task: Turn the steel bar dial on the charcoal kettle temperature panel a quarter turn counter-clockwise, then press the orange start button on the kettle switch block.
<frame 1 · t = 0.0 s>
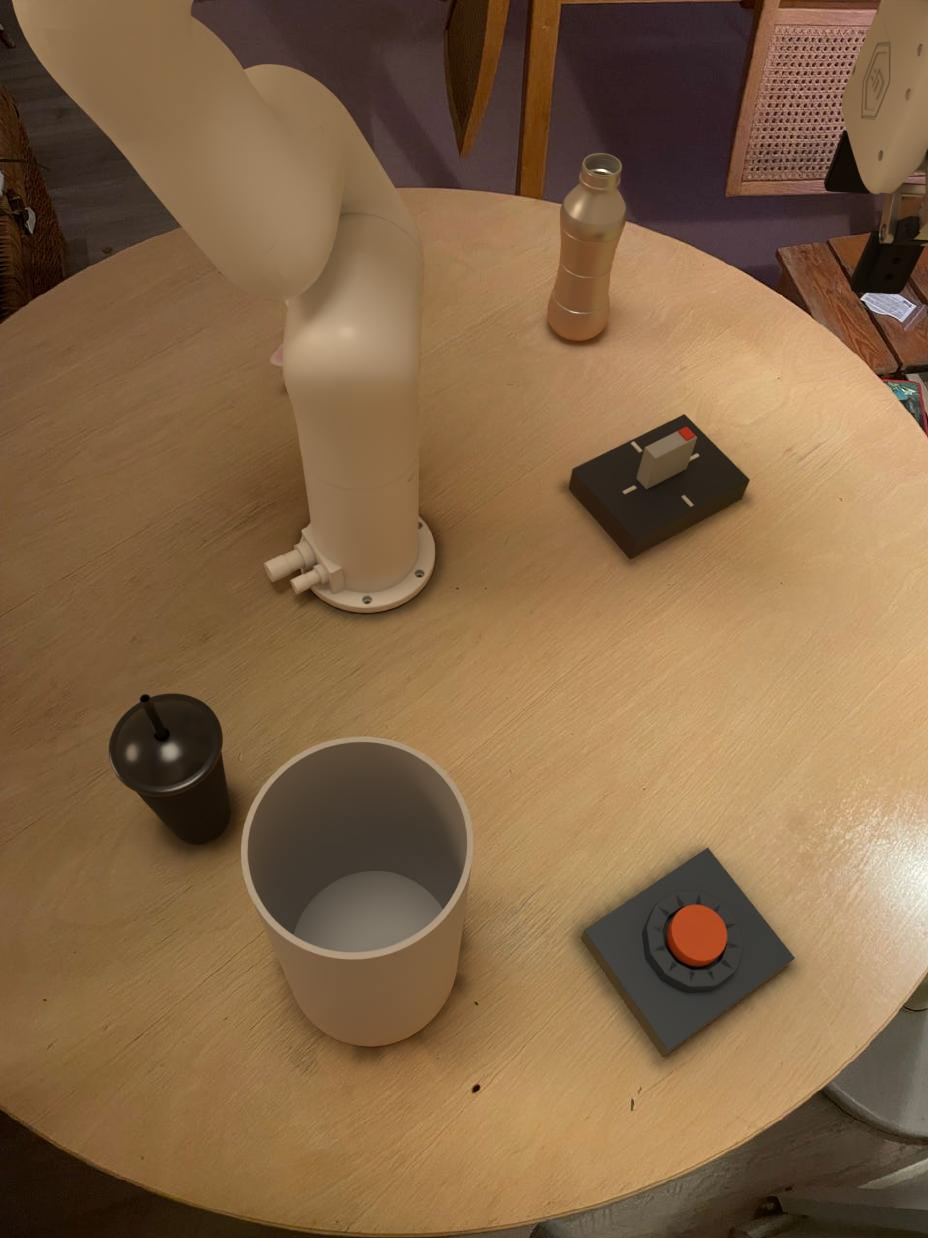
hand: (860, 238, 66), 37 cm above the table, tool pointing down, fingers open, 9 cm apart
start button: (696, 935, 75), point 4 cm above the table, slide at 0.1 cm
cylinder vase: (373, 960, 77), on the table
lily: (332, 370, 110), on the table
temp panel: (655, 493, 102), on the table
plastic bottle: (574, 329, 114), on the table
temp dial: (666, 457, 97), point 5 cm above the table, hinge at 0.0°
switch block: (682, 951, 78), on the table
drinking cup: (200, 817, 83), on the table
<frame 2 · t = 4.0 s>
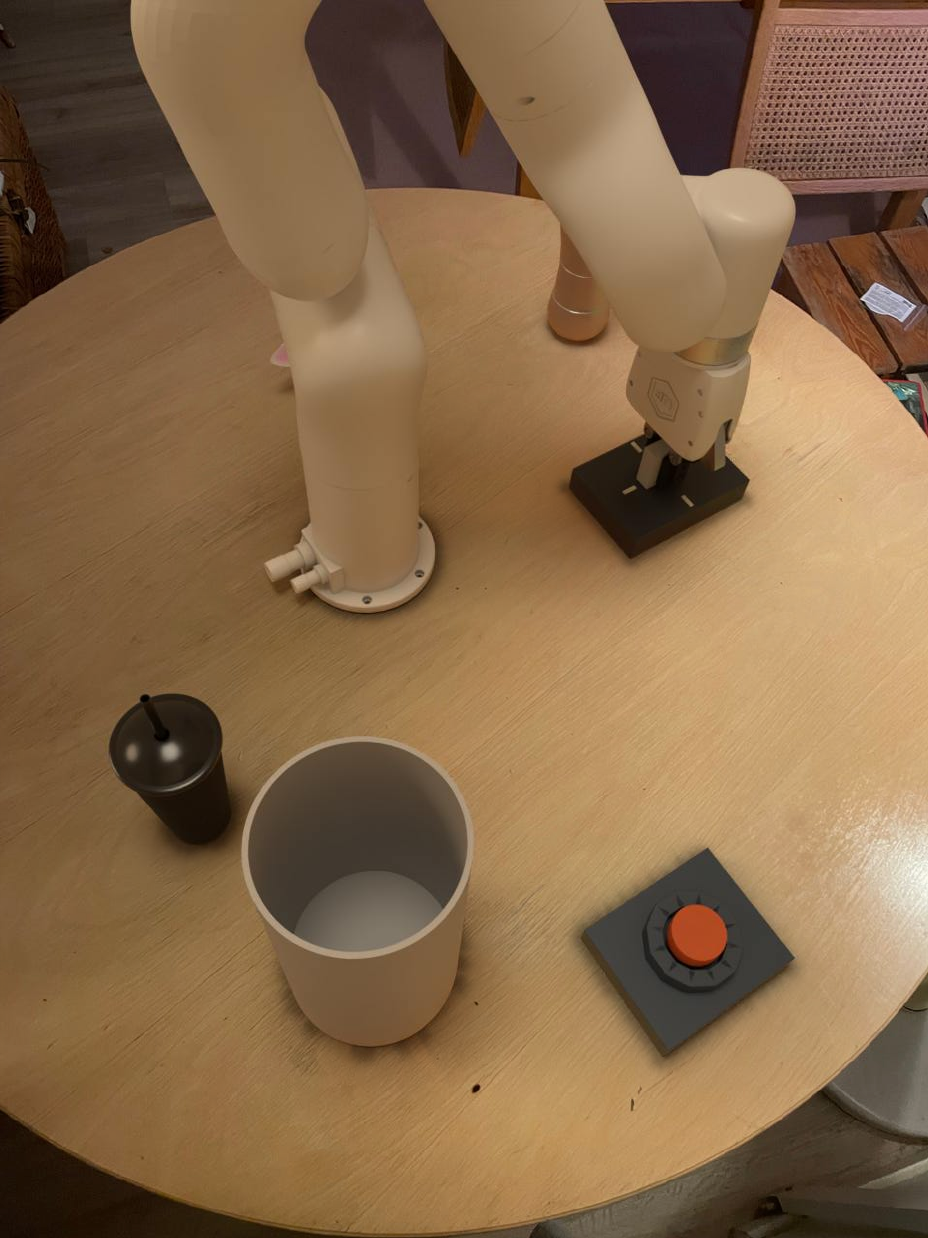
hand: (662, 471, 99), 3 cm above the table, tool pointing down, fingers closed on temp dial
temp dial: (666, 457, 97), point 5 cm above the table, hinge at 0.0°, touching gripper
everything else where it was.
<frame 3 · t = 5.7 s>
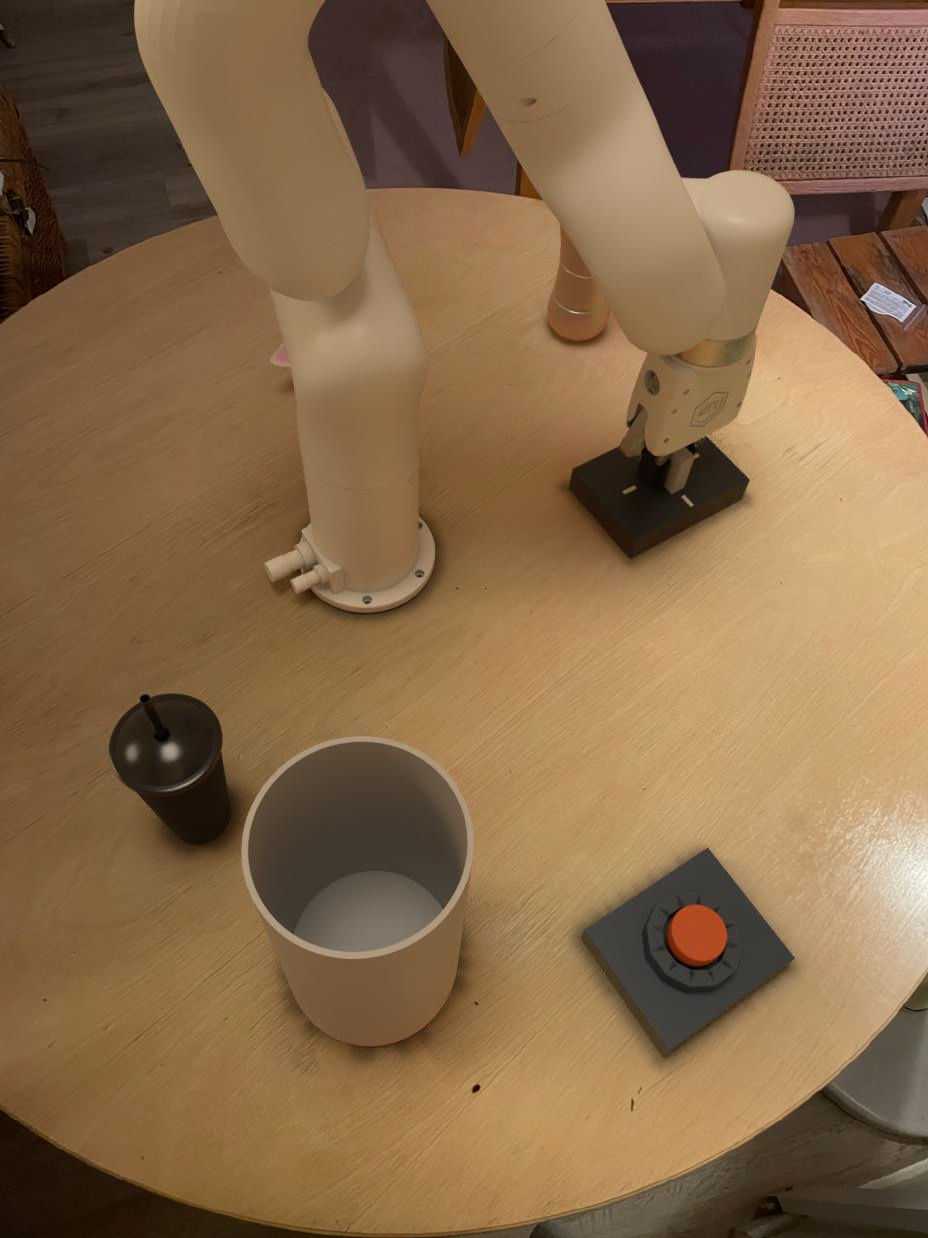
hand: (662, 472, 99), 3 cm above the table, tool pointing down, fingers closed
temp dial: (666, 457, 97), point 5 cm above the table, hinge at 89.7°
everything else where it was.
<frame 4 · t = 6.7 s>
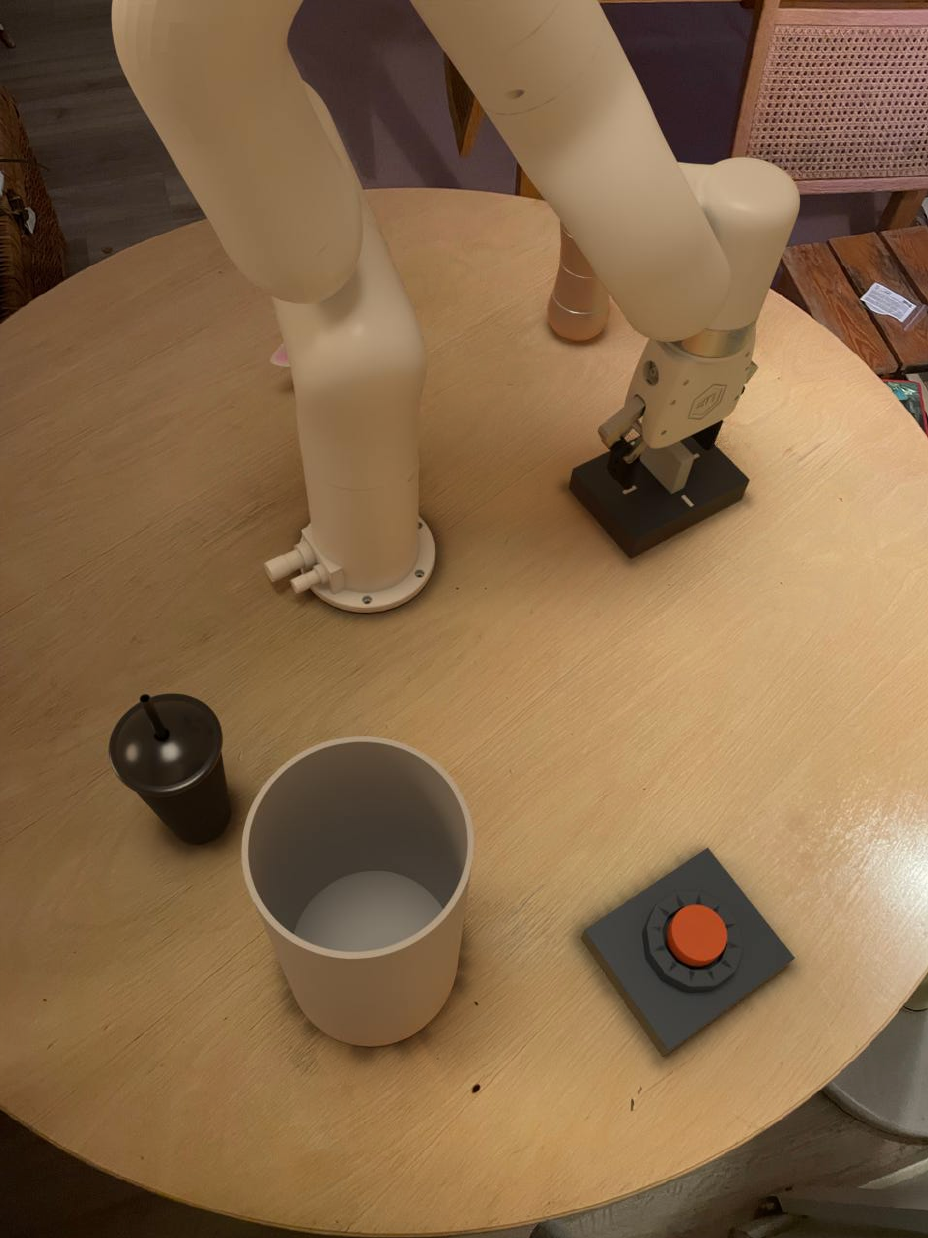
hand: (659, 459, 97), 5 cm above the table, tool pointing down, fingers open, 9 cm apart
nothing on the table moved.
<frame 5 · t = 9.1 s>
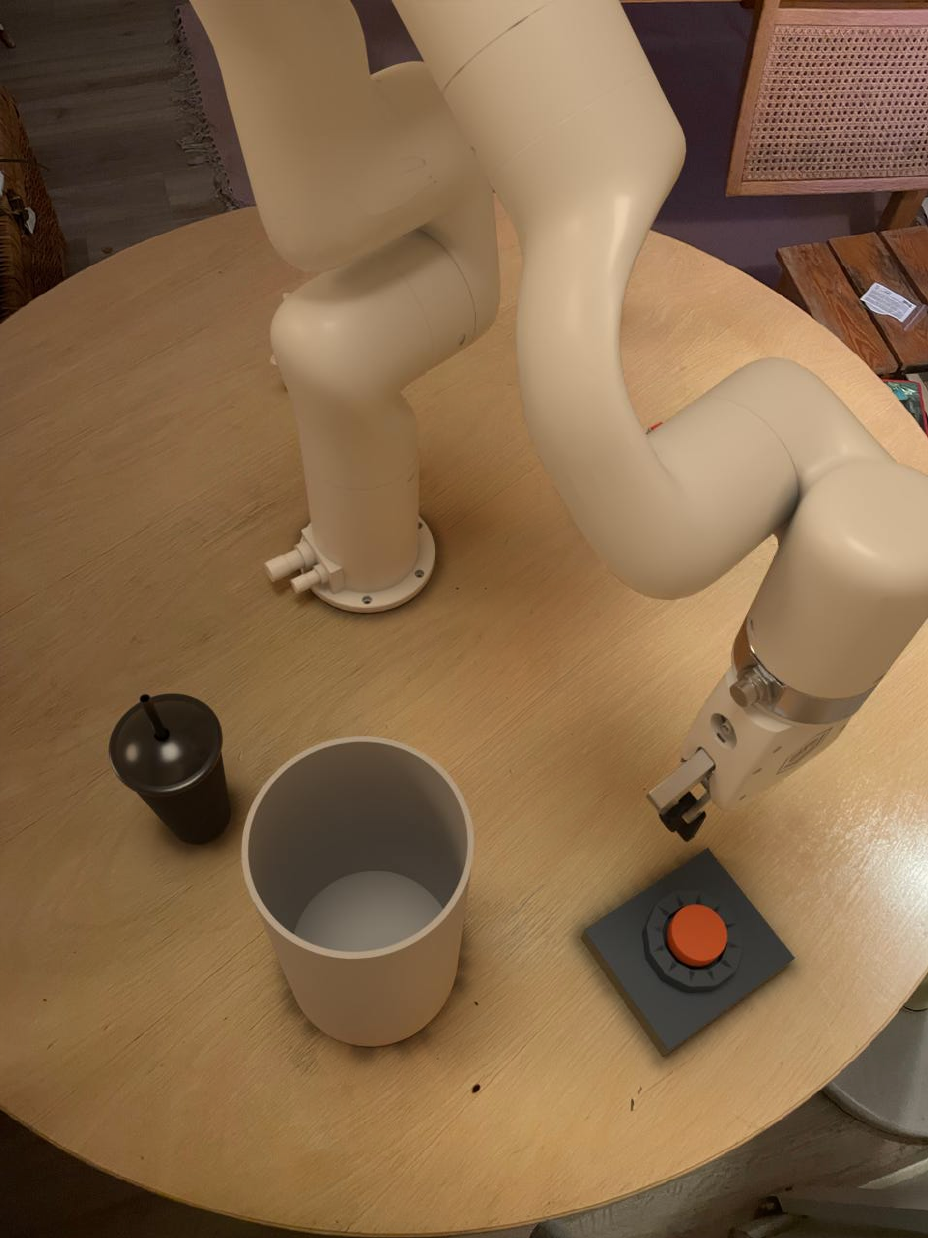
hand: (728, 784, 70), 15 cm above the table, tool pointing down, fingers open, 9 cm apart
nothing on the table moved.
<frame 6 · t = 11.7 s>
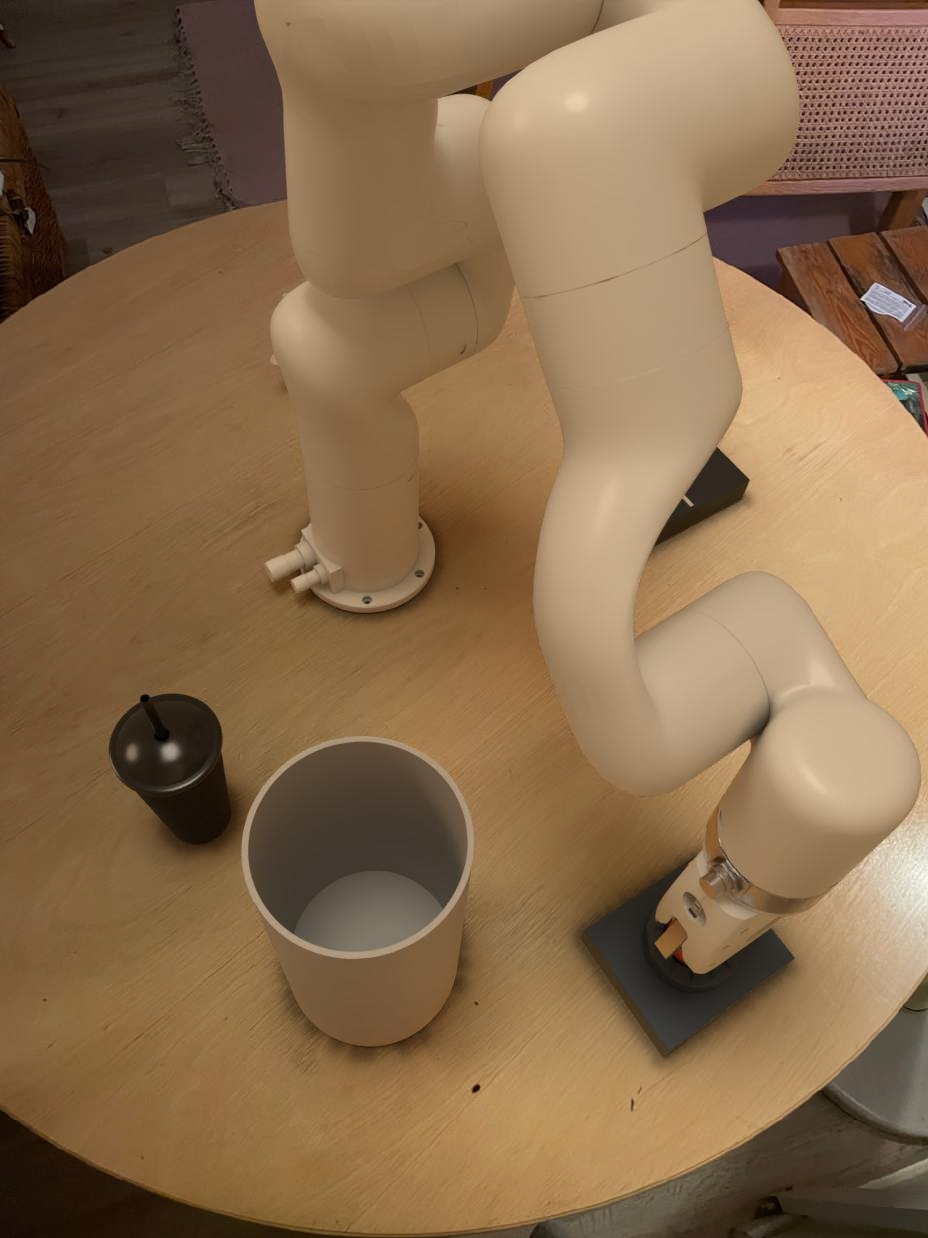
hand: (700, 934, 74), 5 cm above the table, tool pointing down, fingers closed
start button: (696, 936, 75), point 4 cm above the table, slide at 0.0 cm, touching gripper
everything else where it was.
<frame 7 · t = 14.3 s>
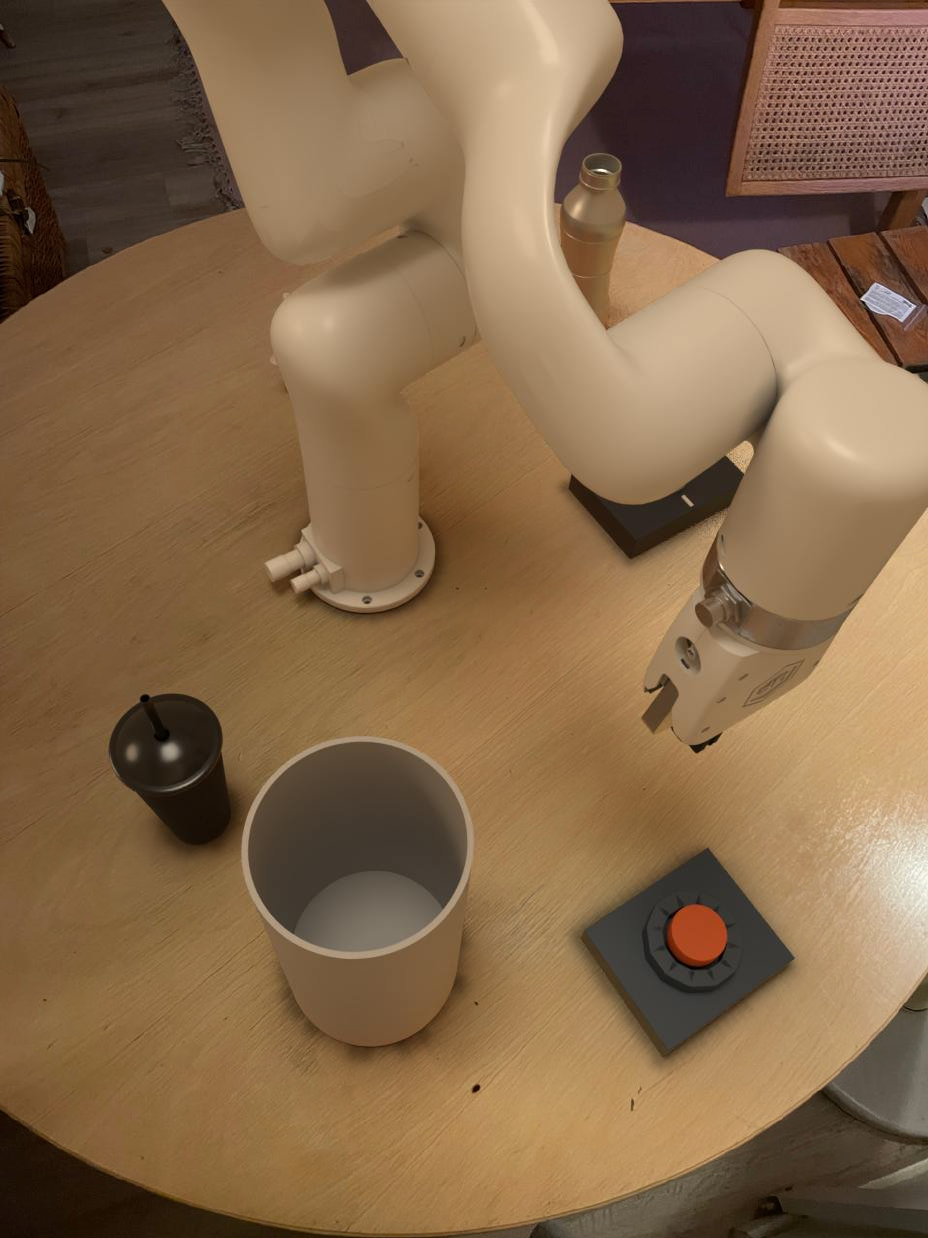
hand: (690, 730, 68), 18 cm above the table, tool pointing down, fingers closed
start button: (696, 935, 75), point 4 cm above the table, slide at 0.1 cm
everything else where it was.
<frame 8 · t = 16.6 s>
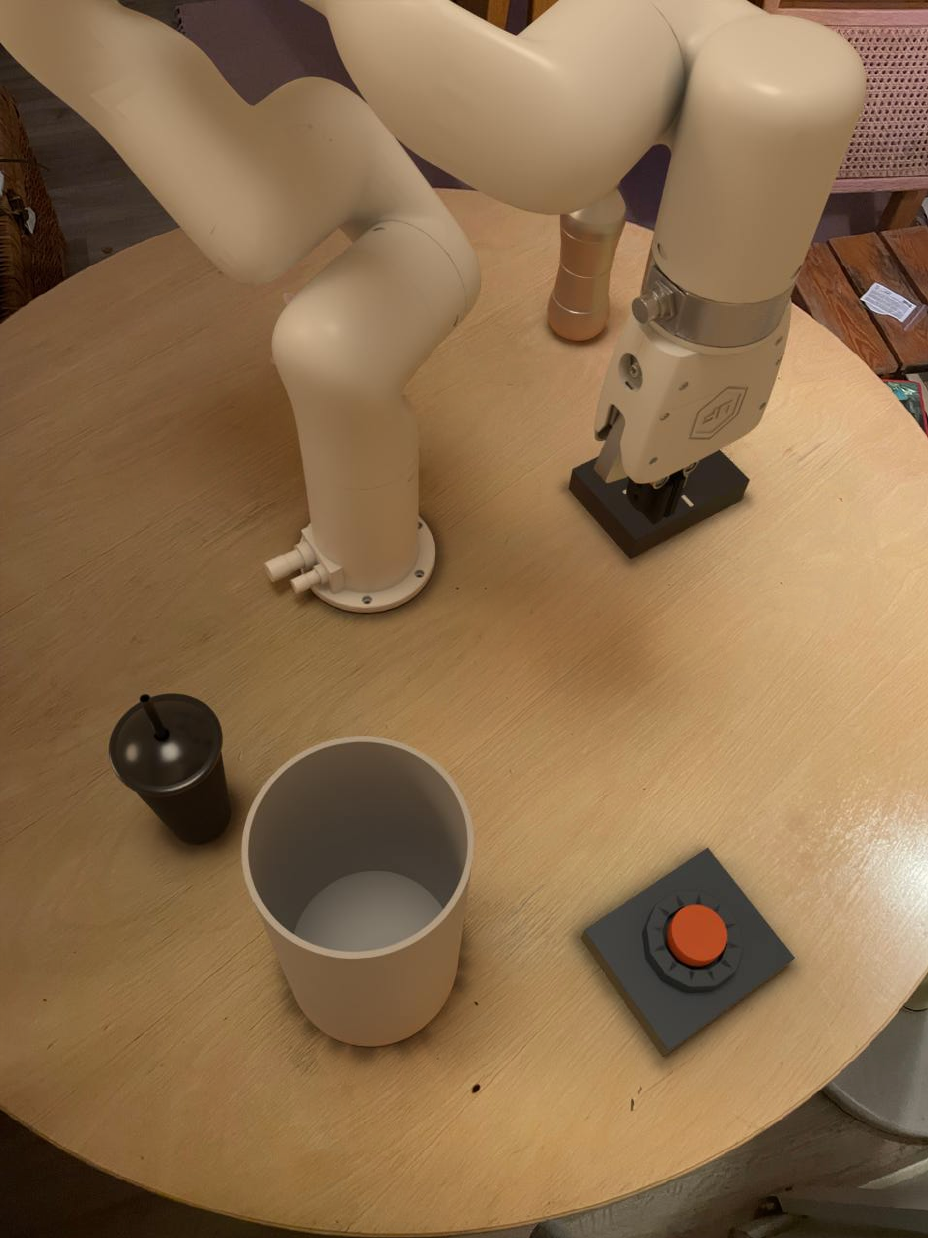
hand: (649, 504, 69), 25 cm above the table, tool pointing down, fingers closed
nothing on the table moved.
at the end: temp dial at +90° (first picture: +0°); start button pushed in 1.1 cm at the most during the clip, back to where it started at the end; start button slide at 0.1 cm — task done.
